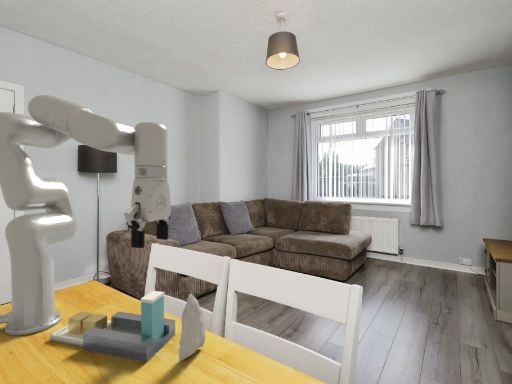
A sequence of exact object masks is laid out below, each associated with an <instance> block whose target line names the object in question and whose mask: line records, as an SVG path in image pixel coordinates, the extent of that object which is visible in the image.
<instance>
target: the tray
mask: <svg viewBox="0 0 512 384" xmlns="http://www.w3.org/2000/svg"><path fill="white" fill-rule="evenodd" d="M110 324H111V320H108V319H107V326H108V325H110ZM49 341H53V342H58V343H63V344H67V345H73V346H77V347H82V348H83V334H82V335H77V334H71V333H69V327H68V324H67V325H65V326H64V327H62V328H60V329H58V330H56V331H54V332H52V333H51V334H50V335H49Z"/></svg>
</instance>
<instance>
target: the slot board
mask: <svg viewBox="0 0 512 384" xmlns="http://www.w3.org/2000/svg"><path fill="white" fill-rule="evenodd" d="M110 321H111V324H110V325H108V326H107V327H105V328H103V329H99V328H94V327H93V328H91V329H90V330H88V331H86V332H85V333H83V347H82V349H83V351H88V352H92V353H97V354H103V355H106V356H107V355H109V356H111V357H117V358H121V359H122V358H123V359H127V360H128V359H129V360H133V361H138V362H144V363H149V361H150V360H151V359H152V358H153V357H154V356H155V355H156V354H157V353H158V352H159V351H160V350H161V349H162V348H163V347H164V346H166V345H167V343H168V342H170V340H172V339H173V337H175V335H176V319H172V318H165V317H164V334H163V335H162V336H161V337H159V338H158V339H157V340H156V341H155V338H152V337H146V336H141V314H140V313H139V314H138V313H133V312H132V313H131V312H125V311H118V312H116V313H114V314H112V315H111V316H110Z"/></svg>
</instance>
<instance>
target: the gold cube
mask: <svg viewBox="0 0 512 384" xmlns="http://www.w3.org/2000/svg"><path fill="white" fill-rule="evenodd" d="M107 320H108V315H104V314H99V313H93V315H92V316H90V317H88V318H87V319H85V320H83V333H85V332H86V331H88V330H90V329H91V328H93V327H94V328H99V329H103V328H105V327H107Z"/></svg>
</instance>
